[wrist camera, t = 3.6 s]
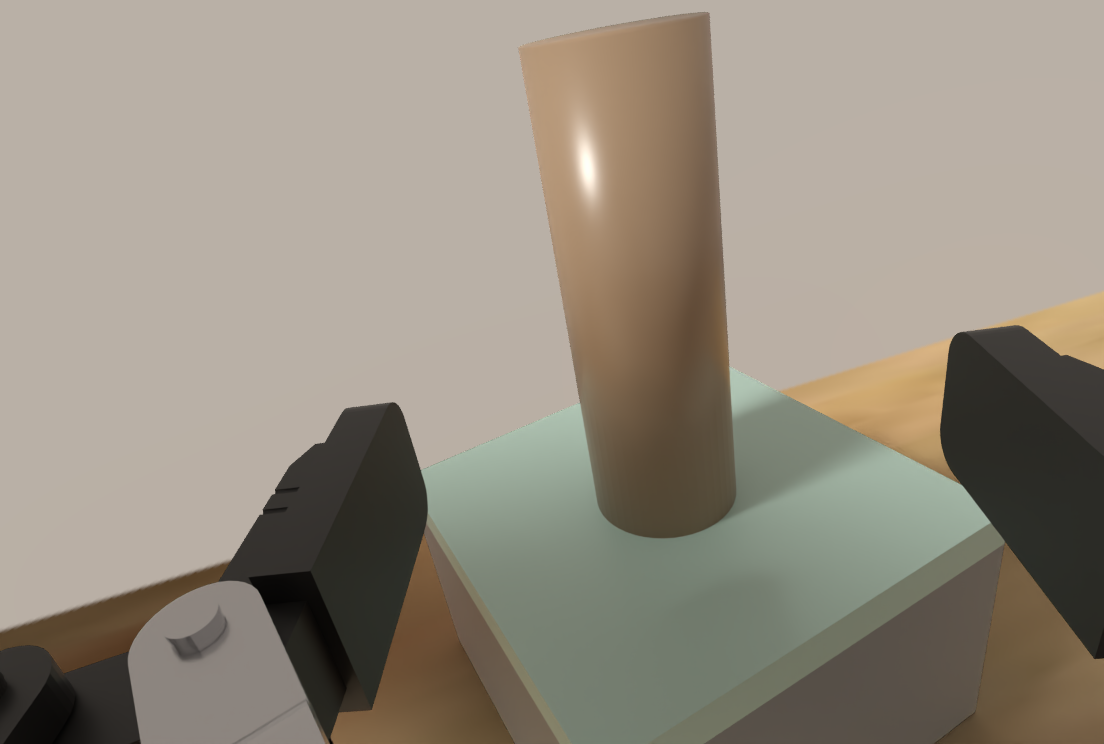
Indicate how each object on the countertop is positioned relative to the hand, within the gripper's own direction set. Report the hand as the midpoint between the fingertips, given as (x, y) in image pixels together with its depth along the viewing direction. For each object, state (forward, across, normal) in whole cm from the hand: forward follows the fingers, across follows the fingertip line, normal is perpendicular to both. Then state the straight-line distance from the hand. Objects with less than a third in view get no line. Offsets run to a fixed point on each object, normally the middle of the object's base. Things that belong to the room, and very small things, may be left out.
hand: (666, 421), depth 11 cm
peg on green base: (+6, 0, +8) cm, 10 cm away
